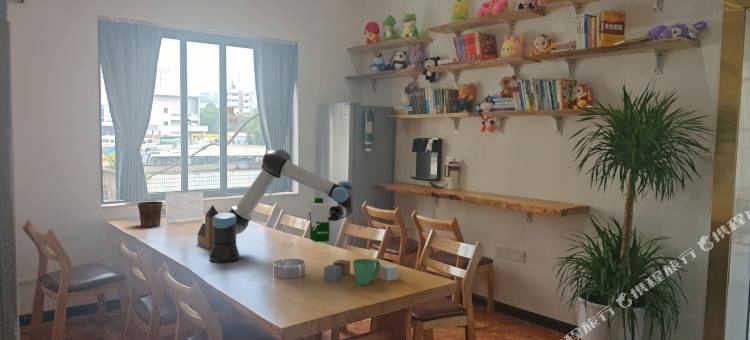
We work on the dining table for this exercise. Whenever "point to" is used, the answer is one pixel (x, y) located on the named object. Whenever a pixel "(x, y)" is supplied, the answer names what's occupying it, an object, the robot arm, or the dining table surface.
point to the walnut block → (343, 266)
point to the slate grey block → (332, 273)
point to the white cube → (389, 272)
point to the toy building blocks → (207, 230)
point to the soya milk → (319, 220)
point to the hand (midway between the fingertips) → (315, 218)
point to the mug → (365, 270)
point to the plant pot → (150, 213)
